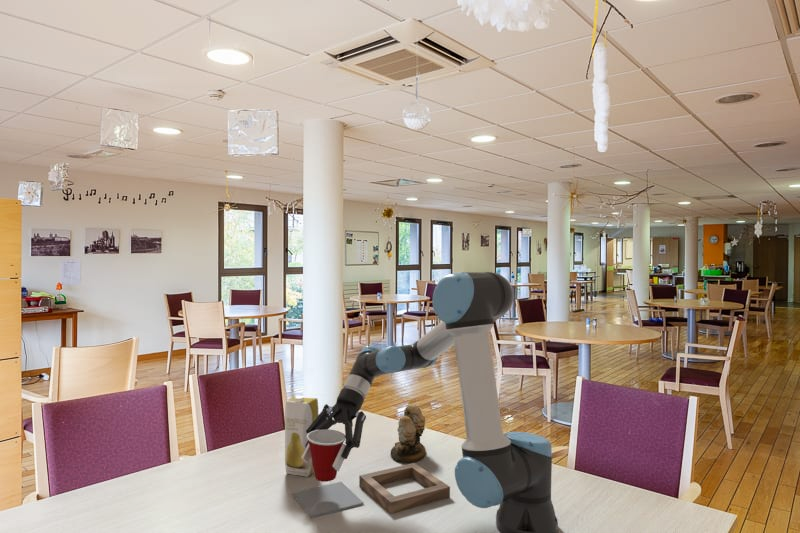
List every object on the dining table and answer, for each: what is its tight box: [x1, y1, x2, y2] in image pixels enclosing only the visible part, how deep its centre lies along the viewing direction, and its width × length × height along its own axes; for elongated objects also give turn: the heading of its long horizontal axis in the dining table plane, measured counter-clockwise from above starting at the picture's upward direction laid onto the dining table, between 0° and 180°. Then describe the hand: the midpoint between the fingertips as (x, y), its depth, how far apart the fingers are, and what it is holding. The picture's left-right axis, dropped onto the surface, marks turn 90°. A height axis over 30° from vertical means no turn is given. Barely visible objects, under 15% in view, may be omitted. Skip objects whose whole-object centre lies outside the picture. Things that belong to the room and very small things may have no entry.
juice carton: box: [284, 395, 320, 478], centre depth 164 cm, size 9×8×24 cm
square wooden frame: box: [358, 462, 451, 514], centre depth 151 cm, size 19×19×3 cm
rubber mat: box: [291, 481, 365, 518], centre depth 146 cm, size 15×15×1 cm
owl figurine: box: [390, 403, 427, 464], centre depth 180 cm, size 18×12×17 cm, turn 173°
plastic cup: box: [307, 428, 346, 483], centre depth 146 cm, size 11×11×12 cm
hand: (319, 464), depth 144 cm, fingers closed on plastic cup, 10 cm apart
